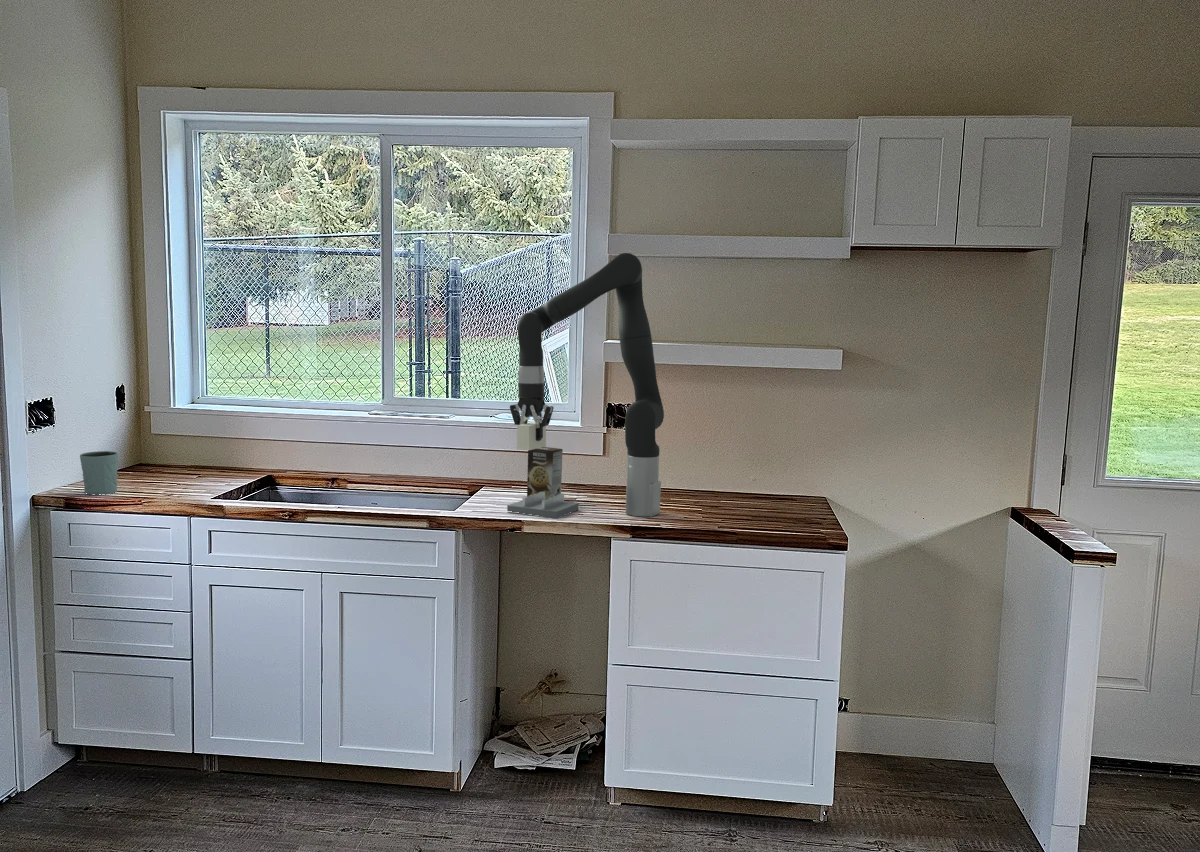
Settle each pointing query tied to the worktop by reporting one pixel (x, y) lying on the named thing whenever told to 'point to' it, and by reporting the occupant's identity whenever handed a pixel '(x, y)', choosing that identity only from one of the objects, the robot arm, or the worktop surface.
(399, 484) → the worktop surface
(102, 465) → the green cup
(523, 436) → the block
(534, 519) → the worktop surface
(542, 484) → the coffee box
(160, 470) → the worktop surface
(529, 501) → the book rack
